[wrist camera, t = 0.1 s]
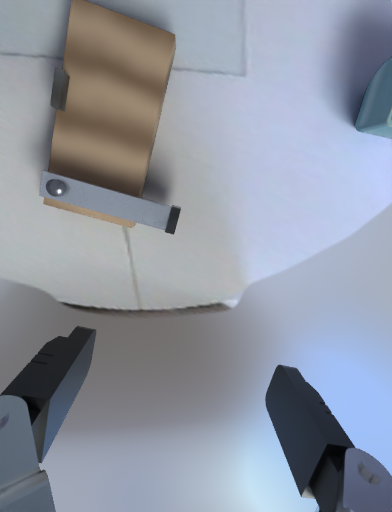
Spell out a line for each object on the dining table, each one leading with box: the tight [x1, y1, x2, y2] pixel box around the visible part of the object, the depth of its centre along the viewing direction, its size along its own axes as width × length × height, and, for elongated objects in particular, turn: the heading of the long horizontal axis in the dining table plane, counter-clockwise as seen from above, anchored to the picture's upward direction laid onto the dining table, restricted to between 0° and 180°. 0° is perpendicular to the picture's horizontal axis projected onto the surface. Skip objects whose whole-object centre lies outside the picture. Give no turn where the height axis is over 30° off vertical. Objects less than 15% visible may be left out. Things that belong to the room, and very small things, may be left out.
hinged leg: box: [39, 171, 181, 234], centre depth 32 cm, size 17×3×4 cm, turn 74°
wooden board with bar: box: [44, 0, 176, 228], centre depth 32 cm, size 24×12×4 cm, turn 164°
